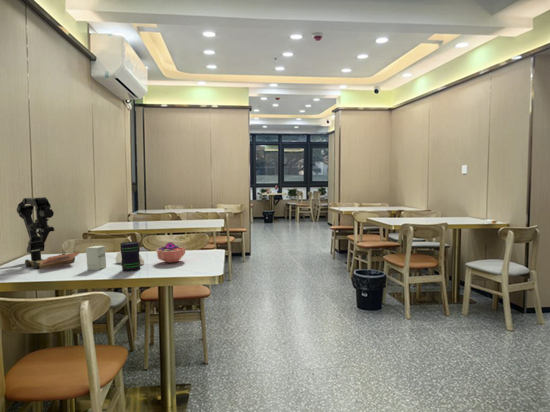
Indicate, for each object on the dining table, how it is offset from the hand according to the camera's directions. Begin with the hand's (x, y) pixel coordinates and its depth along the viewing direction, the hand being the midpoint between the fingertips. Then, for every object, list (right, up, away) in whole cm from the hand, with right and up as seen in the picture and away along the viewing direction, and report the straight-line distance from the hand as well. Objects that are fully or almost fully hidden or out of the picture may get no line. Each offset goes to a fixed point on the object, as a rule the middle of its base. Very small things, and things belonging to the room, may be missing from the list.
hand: (43, 242), depth 259 cm
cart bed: (+6, -13, -3) cm, 15 cm away
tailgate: (+13, -11, -9) cm, 19 cm away
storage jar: (+65, -13, -30) cm, 72 cm away
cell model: (+83, -11, -13) cm, 84 cm away
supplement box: (+43, -13, -23) cm, 50 cm away
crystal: (+58, -12, -12) cm, 60 cm away
